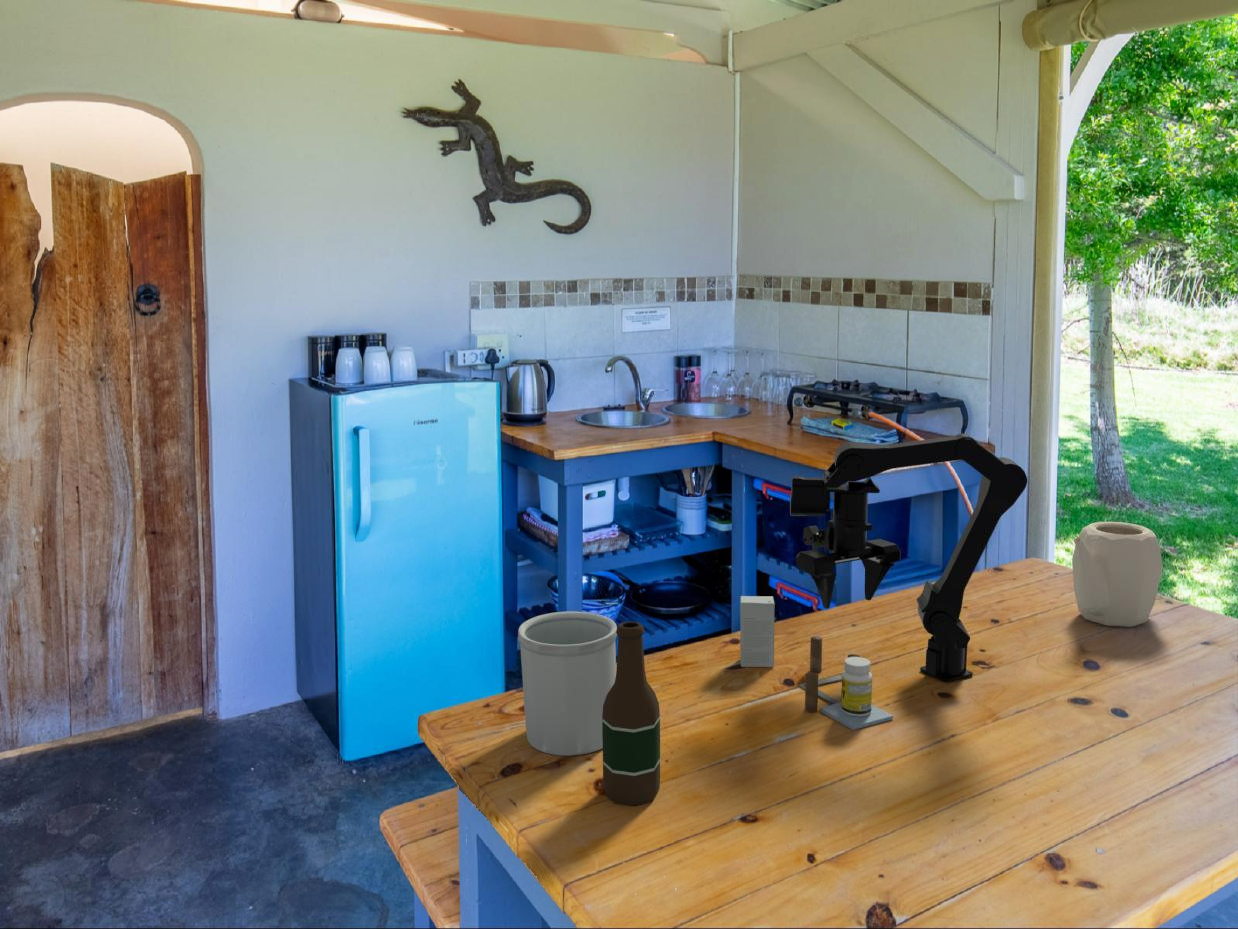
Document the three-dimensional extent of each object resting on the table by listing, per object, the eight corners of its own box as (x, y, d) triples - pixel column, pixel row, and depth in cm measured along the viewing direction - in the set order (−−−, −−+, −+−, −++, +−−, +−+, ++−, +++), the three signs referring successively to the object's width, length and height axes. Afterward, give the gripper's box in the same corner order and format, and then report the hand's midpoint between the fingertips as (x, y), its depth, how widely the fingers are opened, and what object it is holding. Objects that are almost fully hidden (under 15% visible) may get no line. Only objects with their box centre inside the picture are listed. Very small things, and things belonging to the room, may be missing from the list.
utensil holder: (545, 767, 151) (542, 651, 148) (506, 728, 164) (503, 620, 161) (635, 745, 158) (634, 633, 154) (591, 709, 171) (590, 605, 167)
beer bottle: (601, 780, 147) (598, 616, 142) (656, 778, 147) (656, 613, 143) (605, 809, 139) (602, 635, 135) (663, 805, 140) (663, 633, 135)
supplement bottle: (842, 703, 170) (844, 654, 168) (872, 707, 169) (874, 657, 167) (839, 715, 166) (840, 665, 164) (869, 719, 164) (871, 668, 163)
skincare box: (773, 659, 191) (774, 596, 189) (774, 668, 187) (775, 603, 185) (739, 658, 192) (740, 595, 189) (739, 667, 188) (740, 602, 185)
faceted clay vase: (1032, 623, 209) (1038, 530, 205) (1109, 598, 223) (1116, 511, 220) (1106, 645, 196) (1114, 547, 192) (1182, 618, 211) (1191, 526, 207)
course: (823, 666, 188) (824, 634, 186) (880, 695, 174) (881, 661, 173) (755, 681, 181) (756, 648, 180) (810, 713, 168) (810, 678, 167)
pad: (859, 701, 172) (859, 697, 172) (892, 719, 165) (893, 715, 165) (820, 711, 169) (820, 707, 169) (852, 730, 162) (852, 726, 162)
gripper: (861, 501, 192) (858, 584, 195) (777, 513, 184) (776, 599, 187) (904, 514, 182) (900, 600, 185) (817, 527, 174) (815, 617, 177)
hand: (847, 604), depth 184 cm, fingers open, 9 cm apart
